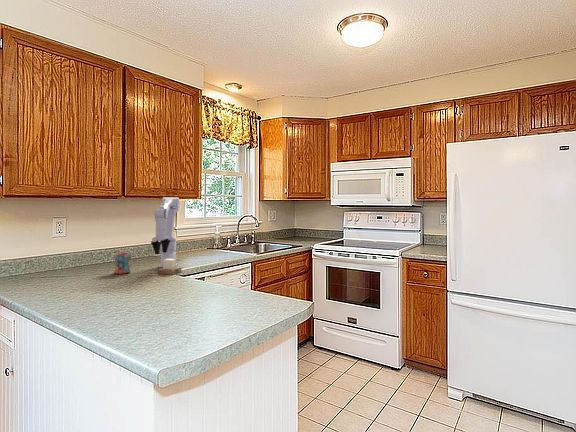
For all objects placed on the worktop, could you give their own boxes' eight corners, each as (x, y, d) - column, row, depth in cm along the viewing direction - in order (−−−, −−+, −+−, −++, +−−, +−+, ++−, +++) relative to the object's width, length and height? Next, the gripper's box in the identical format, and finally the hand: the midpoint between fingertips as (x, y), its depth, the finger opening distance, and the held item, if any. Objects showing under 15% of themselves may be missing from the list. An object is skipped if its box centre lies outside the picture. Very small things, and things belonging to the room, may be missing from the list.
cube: (167, 267, 208) (167, 258, 208) (175, 267, 207) (175, 258, 207) (163, 268, 203) (163, 259, 203) (171, 269, 202) (171, 260, 202)
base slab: (167, 270, 211) (167, 266, 210) (181, 271, 208) (181, 267, 208) (158, 273, 202) (158, 269, 202) (172, 274, 200) (172, 270, 200)
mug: (113, 275, 196) (113, 255, 195) (112, 272, 204) (112, 253, 203) (137, 273, 201) (137, 254, 201) (135, 270, 210) (135, 252, 209)
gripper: (161, 228, 216) (161, 251, 216) (147, 230, 202) (147, 254, 202) (172, 228, 214) (172, 251, 215) (158, 230, 200) (158, 255, 201)
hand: (160, 253), depth 208 cm, fingers open, 7 cm apart
